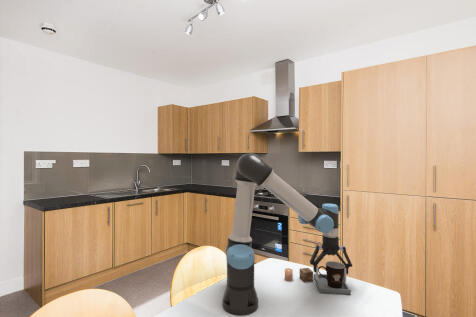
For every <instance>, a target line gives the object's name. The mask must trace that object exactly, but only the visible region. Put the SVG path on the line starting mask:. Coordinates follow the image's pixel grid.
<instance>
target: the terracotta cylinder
mask: <svg viewBox="0 0 476 317" xmlns="http://www.w3.org/2000/svg"><path fill="white" fill-rule="evenodd" d="M293 271H294V270H293V269H292V268H289V267H288V268H285V269H284V281H286V282H293V281H294V279H293V274H294V272H293Z"/></svg>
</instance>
